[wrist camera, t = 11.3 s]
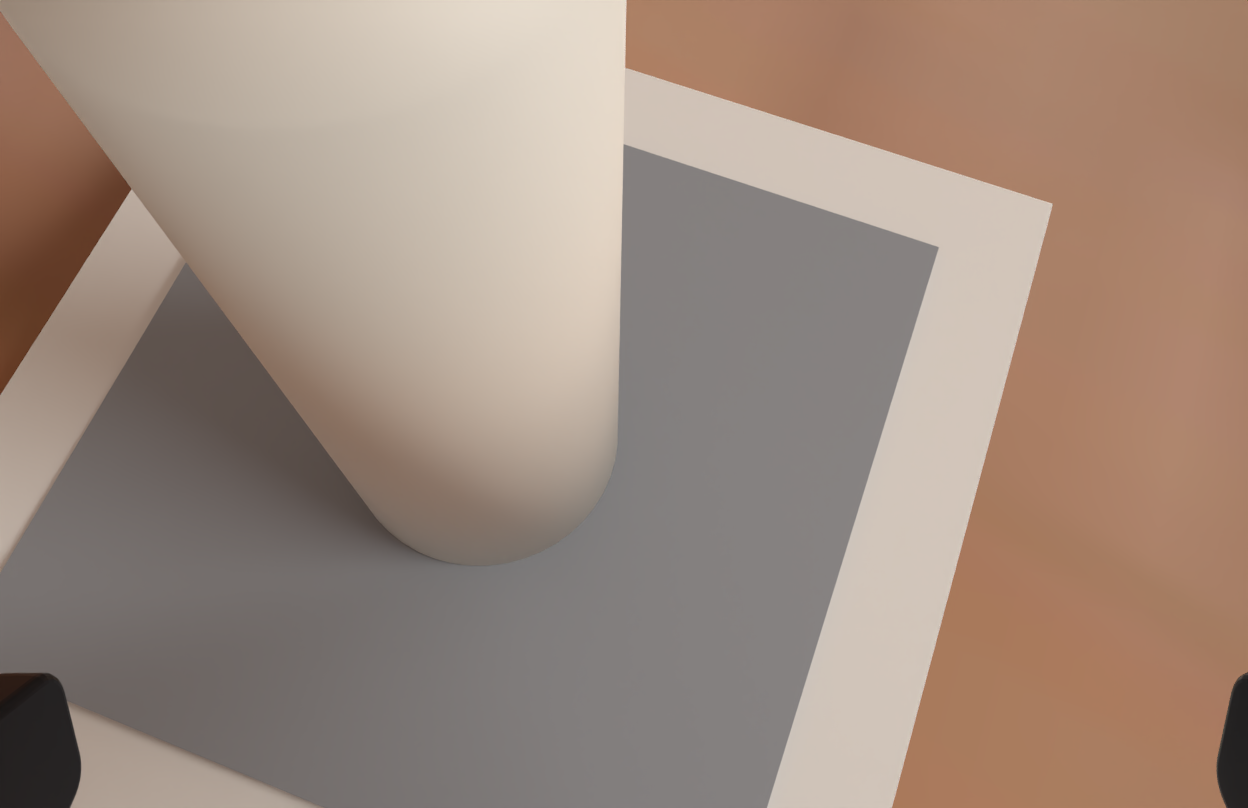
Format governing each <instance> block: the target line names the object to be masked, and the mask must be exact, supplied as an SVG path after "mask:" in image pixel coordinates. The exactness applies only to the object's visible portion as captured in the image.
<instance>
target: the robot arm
mask: <svg viewBox="0 0 1248 808" xmlns="http://www.w3.org/2000/svg"><path fill="white" fill-rule="evenodd" d="M80 778H81V757H80V752H79V748H78V744H77V740H76V736H75V732H74V727H73V723H72V719H71V715H70V711H69V707H68V703H67V699H66V695H65V691H64V688H63V686H62V684H61V682H60V681H59V679H58V678H57V677H55V676H53V675H52V674H50V673H1V674H0V808H70V807H71V805H72V803H73V800H74V798H75V796H76V793H77V790H78V787H79V783H80ZM1217 780H1218V785H1219V789H1220V792H1221V795H1222V798H1223V801H1224V803H1225V805H1226V808H1248V672H1247V673H1245V674H1243V675H1242V676H1240V677H1239V678H1238V679H1237V681H1236V682H1235V684H1234V686H1233V689H1232V692H1231V697H1230V701H1229V706H1228V711H1227V715H1226V720H1225V725H1224V729H1223V734H1222V739H1221V743H1220V748H1219V753H1218V757H1217Z"/></svg>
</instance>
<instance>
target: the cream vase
mask: <svg viewBox="0 0 1248 808" xmlns="http://www.w3.org/2000/svg"><path fill="white" fill-rule="evenodd" d="M0 11H1V13H2V14H3V16H4V17H5V18H6V20H7V21H8V23H9V24H10V26H11V27H12V28H13V30H14V31H15V32H16V34H17V35H18V36H19V38H20V39H21V41H22V42H23V43H24V45H25V46H26V47H27V49H28V50H29V51H30V53H31V54H32V55H33V57H34V58H35V59H36V61H37V62H38V63H39V65H40V66H41V67H42V69H43V70H44V71H45V73H46V74H47V76H48V77H49V78H50V80H51V81H52V82H53V84H54V85H55V86H56V88H57V89H58V90H59V92H60V93H61V94H62V96H63V97H64V98H65V100H66V101H67V102H68V104H69V105H70V107H71V108H72V109H73V111H74V112H75V113H76V115H77V116H78V117H79V119H80V120H81V121H82V123H83V124H84V125H85V127H86V128H87V129H88V131H89V132H90V133H91V135H92V136H93V137H94V139H95V140H96V142H97V143H98V144H99V146H100V147H101V148H102V150H103V151H104V152H105V154H106V155H107V156H108V158H109V159H110V160H111V162H112V163H113V164H114V166H115V167H116V168H117V170H118V171H119V172H120V174H121V175H122V177H123V178H124V179H125V181H126V182H127V183H128V185H129V186H130V187H131V189H132V190H133V191H134V193H135V194H136V195H137V197H138V198H139V199H140V201H141V202H142V203H143V205H144V206H145V208H146V209H147V210H148V212H149V213H150V214H151V216H152V217H153V218H154V220H155V221H156V222H157V224H158V225H159V226H160V228H161V229H162V230H163V232H164V233H165V234H166V236H167V237H168V238H169V240H170V241H171V243H172V244H173V245H174V247H175V248H176V249H177V251H178V252H179V253H180V255H181V256H182V257H183V259H184V260H185V261H186V263H187V264H188V265H189V267H190V268H191V269H192V271H193V272H194V273H195V275H196V276H197V278H198V279H199V280H200V282H201V283H202V284H203V286H204V287H205V288H206V290H207V291H208V292H209V294H210V295H211V296H212V298H213V299H214V300H215V302H216V303H217V304H218V306H219V307H220V308H221V310H222V311H223V313H224V314H225V315H226V317H227V318H228V319H229V321H230V322H231V323H232V325H233V326H234V327H235V329H236V330H237V331H238V333H239V334H240V335H241V337H242V338H243V339H244V341H245V342H246V344H247V345H248V346H249V348H250V349H251V350H252V352H253V353H254V354H255V356H256V357H257V358H258V360H259V361H260V362H261V364H262V365H263V366H264V368H265V369H266V370H267V372H268V373H269V374H270V376H271V377H272V379H273V380H274V381H275V383H276V384H277V385H278V387H279V388H280V389H281V391H282V392H283V393H284V395H285V396H286V397H287V399H288V400H289V401H290V403H291V404H292V405H293V407H294V408H295V409H296V411H297V412H298V414H299V415H300V416H301V418H302V419H303V420H304V422H305V423H306V424H307V426H308V427H309V428H310V430H311V431H312V432H313V434H314V435H315V436H316V438H317V439H318V440H319V442H320V443H321V445H322V446H323V447H324V449H325V450H326V451H327V453H328V454H329V455H330V457H331V458H332V459H333V461H334V462H335V463H336V465H337V466H338V467H339V469H340V470H341V471H342V473H343V474H344V475H345V477H346V478H347V480H348V481H349V482H350V484H351V485H352V486H353V488H354V489H355V490H356V492H357V493H358V494H359V496H360V497H361V498H362V500H363V501H364V502H365V504H366V505H367V506H368V508H369V509H370V510H371V512H372V513H373V515H374V516H375V517H376V519H377V520H378V521H379V522H380V523H381V524H382V525H383V526H384V527H385V528H386V529H387V530H388V532H390V533H391V534H392V535H393V536H395V537H396V538H397V539H398V540H400V541H401V542H402V543H404V544H405V545H407V546H409V547H410V548H412V549H414V550H415V551H417V552H419V553H422V554H424V555H427V556H429V557H431V558H434V559H437V560H441V561H445V562H448V563H453V564H460V565H468V566H489V565H497V564H505V563H509V562H513V561H517V560H521V559H524V558H527V557H529V556H532V555H534V554H537V553H540V552H541V551H543V550H545V549H547V548H549V547H551V546H552V545H554V544H556V543H557V542H559V541H560V540H562V539H563V538H564V537H566V536H567V535H568V534H570V533H571V532H572V531H573V530H574V529H575V528H576V527H577V526H578V525H579V524H580V523H582V522H583V521H584V519H585V518H586V517H587V516H588V514H589V513H590V512H591V511H592V510H593V508H594V507H595V505H596V504H597V502H598V501H599V499H600V497H601V496H602V494H603V492H604V490H605V488H606V486H607V483H608V481H609V479H610V477H611V473H612V470H613V466H614V463H615V458H616V451H617V445H618V397H619V346H620V295H621V245H622V194H623V143H624V93H625V42H626V0H0Z"/></svg>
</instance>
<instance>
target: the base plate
mask: <svg viewBox="0 0 1248 808" xmlns="http://www.w3.org/2000/svg"><path fill="white" fill-rule="evenodd" d="M1052 205H1053V204H1051V203H1048V202H1045V201H1042V200H1039V199H1036V198H1033V197H1029V196H1026V195H1023V194H1020V193H1017V192H1014V191H1011V190H1007V189H1004V188H1001V187H998V186H995V185H992V184H989V183H985V182H982V181H979V180H976V179H973V178H970V177H967V176H963V175H960V174H957V173H954V172H951V171H948V170H945V169H941V168H938V167H935V166H932V165H929V164H926V163H923V162H919V161H916V160H913V159H910V158H907V157H904V156H901V155H897V154H894V153H891V152H888V151H885V150H882V149H879V148H875V147H872V146H869V145H866V144H863V143H860V142H857V141H854V140H850V139H847V138H844V137H841V136H838V135H835V134H832V133H828V132H825V131H822V130H819V129H816V128H813V127H810V126H806V125H803V124H800V123H797V122H794V121H791V120H788V119H784V118H781V117H778V116H775V115H772V114H769V113H766V112H762V111H759V110H756V109H753V108H750V107H747V106H744V105H740V104H737V103H734V102H731V101H728V100H725V99H722V98H718V97H715V96H712V95H709V94H706V93H703V92H700V91H696V90H693V89H690V88H687V87H684V86H681V85H678V84H674V83H671V82H668V81H665V80H662V79H659V78H656V77H652V76H649V75H646V74H643V73H640V72H637V71H634V70H630V69H627V68H625V93H624V143H623V194H622V245H621V295H620V346H619V397H618V445H617V451H616V458H615V463H614V466H613V470H612V473H611V477H610V479H609V481H608V483H607V486H606V488H605V490H604V492H603V494H602V496H601V497H600V499H599V501H598V502H597V504H596V505H595V507H594V508H593V510H592V511H591V512H590V513H589V514H588V516H587V517H586V518H585V519H584V521H583V522H582V523H580V524H579V525H578V526H577V527H576V528H575V529H574V530H573V531H572V532H571V533H570V534H568V535H567V536H566V537H564V538H563V539H562V540H560V541H559V542H557V543H556V544H554V545H552V546H551V547H549V548H547V549H545V550H543V551H541V552H540V553H537V554H534V555H532V556H529V557H527V558H524V559H521V560H517V561H513V562H509V563H505V564H497V565H489V566H468V565H460V564H453V563H448V562H445V561H441V560H437V559H434V558H431V557H429V556H427V555H424V554H422V553H419V552H417V551H415V550H414V549H412V548H410V547H409V546H407V545H405V544H404V543H402V542H401V541H400V540H398V539H397V538H396V537H395V536H393V535H392V534H391V533H390V532H388V530H387V529H386V528H385V527H384V526H383V525H382V524H381V523H380V522H379V521H378V520H377V519H376V517H375V516H374V515H373V513H372V512H371V510H370V509H369V508H368V506H367V505H366V504H365V502H364V501H363V500H362V498H361V497H360V496H359V494H358V493H357V492H356V490H355V489H354V488H353V486H352V485H351V484H350V482H349V481H348V480H347V478H346V477H345V475H344V474H343V473H342V471H341V470H340V469H339V467H338V466H337V465H336V463H335V462H334V461H333V459H332V458H331V457H330V455H329V454H328V453H327V451H326V450H325V449H324V447H323V446H322V445H321V443H320V442H319V440H318V439H317V438H316V436H315V435H314V434H313V432H312V431H311V430H310V428H309V427H308V426H307V424H306V423H305V422H304V420H303V419H302V418H301V416H300V415H299V414H298V412H297V411H296V409H295V408H294V407H293V405H292V404H291V403H290V401H289V400H288V399H287V397H286V396H285V395H284V393H283V392H282V391H281V389H280V388H279V387H278V385H277V384H276V383H275V381H274V380H273V379H272V377H271V376H270V374H269V373H268V372H267V370H266V369H265V368H264V366H263V365H262V364H261V362H260V361H259V360H258V358H257V357H256V356H255V354H254V353H253V352H252V350H251V349H250V348H249V346H248V345H247V344H246V342H245V341H244V339H243V338H242V337H241V335H240V334H239V333H238V331H237V330H236V329H235V327H234V326H233V325H232V323H231V322H230V321H229V319H228V318H227V317H226V315H225V314H224V313H223V311H222V310H221V308H220V307H219V306H218V304H217V303H216V302H215V300H214V299H213V298H212V296H211V295H210V294H209V292H208V291H207V290H206V288H205V287H204V286H203V284H202V283H201V282H200V280H199V279H198V278H197V276H196V275H195V273H194V272H193V271H192V269H191V268H190V267H189V265H188V264H187V263H186V261H185V260H184V259H183V257H182V256H181V255H180V253H179V252H178V251H177V249H176V248H175V247H174V245H173V244H172V243H171V241H170V240H169V238H168V237H167V236H166V234H165V233H164V232H163V230H162V229H161V228H160V226H159V225H158V224H157V222H156V221H155V220H154V218H153V217H152V216H151V214H150V213H149V212H148V210H147V209H146V208H145V206H144V205H143V203H142V202H141V201H140V199H139V198H138V197H137V195H136V194H135V193H134V191H133V190H132V189H131V191H130V192H129V194H128V196H127V197H126V199H125V200H124V202H123V203H122V205H121V207H120V208H119V210H118V211H117V213H116V214H115V216H114V218H113V219H112V221H111V222H110V224H109V225H108V227H107V229H106V230H105V232H104V233H103V235H102V236H101V238H100V240H99V241H98V243H97V244H96V246H95V247H94V249H93V251H92V252H91V254H90V255H89V257H88V258H87V260H86V262H85V263H84V265H83V266H82V268H81V269H80V271H79V273H78V274H77V276H76V277H75V279H74V280H73V282H72V283H71V285H70V287H69V288H68V290H67V291H66V293H65V294H64V296H63V298H62V299H61V301H60V302H59V304H58V305H57V307H56V309H55V310H54V312H53V313H52V315H51V316H50V318H49V320H48V321H47V323H46V324H45V326H44V327H43V329H42V331H41V332H40V334H39V335H38V337H37V338H36V340H35V342H34V343H33V345H32V346H31V348H30V349H29V351H28V353H27V354H26V356H25V357H24V359H23V360H22V362H21V364H20V365H19V367H18V368H17V370H16V371H15V373H14V375H13V376H12V378H11V379H10V381H9V382H8V384H7V386H6V387H5V389H4V390H3V392H2V393H1V395H0V674H1V673H50V674H52V675H53V676H55V677H57V678H58V679H59V681H60V682H61V684H62V686H63V688H64V691H65V695H66V699H67V703H68V707H69V711H70V715H71V719H72V723H73V727H74V732H75V736H76V740H77V744H78V748H79V752H80V757H81V778H80V783H79V787H78V790H77V793H76V796H75V798H74V800H73V803H72V805H71V807H70V808H892V805H893V801H894V798H895V794H896V790H897V786H898V783H899V779H900V775H901V771H902V768H903V764H904V760H905V756H906V753H907V749H908V745H909V741H910V738H911V734H912V730H913V726H914V723H915V719H916V715H917V711H918V708H919V704H920V700H921V696H922V693H923V689H924V685H925V681H926V678H927V674H928V670H929V666H930V663H931V659H932V655H933V651H934V648H935V644H936V640H937V636H938V633H939V629H940V625H941V621H942V618H943V614H944V610H945V606H946V603H947V599H948V595H949V591H950V588H951V584H952V580H953V576H954V573H955V569H956V565H957V561H958V558H959V554H960V550H961V546H962V543H963V539H964V535H965V531H966V528H967V524H968V520H969V516H970V513H971V509H972V505H973V501H974V498H975V494H976V490H977V486H978V483H979V479H980V475H981V471H982V468H983V464H984V460H985V456H986V453H987V449H988V445H989V441H990V438H991V434H992V430H993V426H994V423H995V419H996V415H997V411H998V408H999V404H1000V400H1001V396H1002V393H1003V389H1004V385H1005V382H1006V378H1007V374H1008V370H1009V367H1010V363H1011V359H1012V355H1013V352H1014V348H1015V344H1016V340H1017V337H1018V333H1019V329H1020V325H1021V322H1022V318H1023V314H1024V310H1025V307H1026V303H1027V299H1028V295H1029V292H1030V288H1031V284H1032V280H1033V277H1034V273H1035V269H1036V265H1037V262H1038V258H1039V254H1040V250H1041V247H1042V243H1043V239H1044V235H1045V232H1046V228H1047V224H1048V220H1049V217H1050V213H1051V209H1052Z"/></svg>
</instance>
